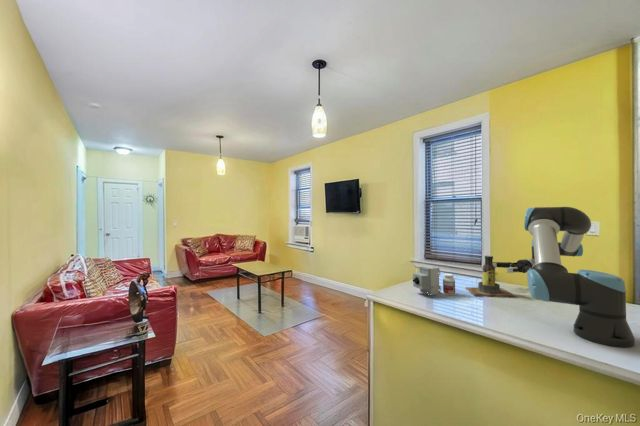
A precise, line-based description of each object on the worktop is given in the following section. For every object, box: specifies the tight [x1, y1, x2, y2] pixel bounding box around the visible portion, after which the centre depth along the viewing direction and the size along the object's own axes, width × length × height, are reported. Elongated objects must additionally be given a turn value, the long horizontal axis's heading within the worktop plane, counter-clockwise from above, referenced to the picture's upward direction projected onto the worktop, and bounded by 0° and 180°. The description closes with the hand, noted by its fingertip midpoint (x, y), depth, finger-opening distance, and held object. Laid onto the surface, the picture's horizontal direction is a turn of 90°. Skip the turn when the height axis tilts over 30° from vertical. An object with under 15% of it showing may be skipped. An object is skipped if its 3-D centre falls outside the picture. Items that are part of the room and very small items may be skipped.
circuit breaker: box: [412, 265, 442, 296], centre depth 153 cm, size 8×14×15 cm, turn 107°
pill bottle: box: [442, 273, 456, 296], centre depth 152 cm, size 6×6×11 cm
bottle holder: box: [465, 281, 516, 298], centre depth 151 cm, size 20×14×5 cm
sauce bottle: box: [481, 254, 496, 286], centre depth 152 cm, size 6×6×20 cm
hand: (496, 268), depth 153 cm, fingers open, 13 cm apart
